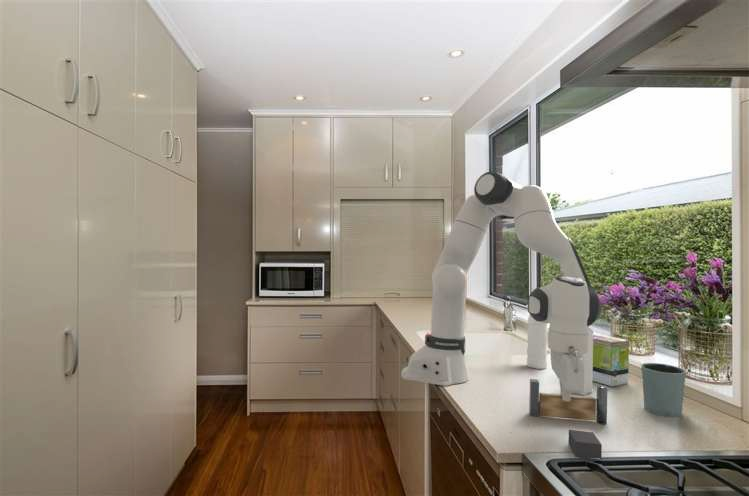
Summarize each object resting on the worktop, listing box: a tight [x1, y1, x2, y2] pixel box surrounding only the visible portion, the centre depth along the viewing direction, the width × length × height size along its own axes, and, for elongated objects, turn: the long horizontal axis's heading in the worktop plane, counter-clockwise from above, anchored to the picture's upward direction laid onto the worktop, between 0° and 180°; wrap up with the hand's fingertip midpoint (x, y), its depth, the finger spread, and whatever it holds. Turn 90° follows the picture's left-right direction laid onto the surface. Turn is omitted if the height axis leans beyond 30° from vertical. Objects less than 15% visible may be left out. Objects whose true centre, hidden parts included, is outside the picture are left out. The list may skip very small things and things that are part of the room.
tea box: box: [592, 333, 630, 387], centre depth 141 cm, size 15×10×15 cm, turn 28°
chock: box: [568, 429, 603, 460], centre depth 88 cm, size 5×6×4 cm
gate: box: [538, 392, 596, 422], centre depth 105 cm, size 13×1×6 cm, turn 81°
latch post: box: [528, 378, 540, 418], centre depth 108 cm, size 4×3×9 cm
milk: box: [576, 326, 594, 396], centre depth 128 cm, size 6×6×22 cm
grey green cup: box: [640, 362, 687, 418], centre depth 113 cm, size 10×10×12 cm
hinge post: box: [595, 385, 608, 425], centre depth 104 cm, size 2×2×9 cm
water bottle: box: [526, 314, 548, 370], centre depth 155 cm, size 7×7×25 cm
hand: (565, 399), depth 100 cm, fingers closed
